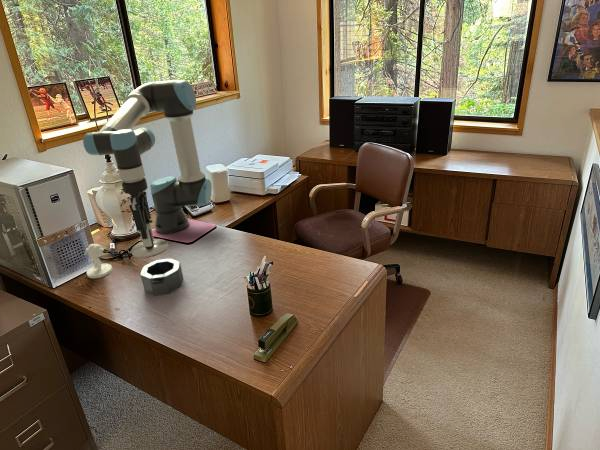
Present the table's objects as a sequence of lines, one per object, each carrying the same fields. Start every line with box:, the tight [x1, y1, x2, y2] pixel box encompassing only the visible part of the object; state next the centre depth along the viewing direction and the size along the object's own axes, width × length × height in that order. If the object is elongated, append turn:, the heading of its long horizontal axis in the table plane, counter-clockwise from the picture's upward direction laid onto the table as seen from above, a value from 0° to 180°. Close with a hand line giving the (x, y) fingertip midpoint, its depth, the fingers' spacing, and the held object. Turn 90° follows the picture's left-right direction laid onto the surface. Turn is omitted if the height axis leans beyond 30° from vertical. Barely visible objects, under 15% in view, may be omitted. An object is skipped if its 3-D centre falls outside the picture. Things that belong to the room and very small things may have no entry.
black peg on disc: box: [131, 229, 169, 259], centre depth 147 cm, size 12×12×7 cm
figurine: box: [84, 243, 113, 279], centre depth 164 cm, size 9×9×12 cm
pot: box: [140, 257, 184, 297], centre depth 153 cm, size 16×13×7 cm
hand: (149, 243), depth 148 cm, fingers closed on black peg on disc, 3 cm apart
